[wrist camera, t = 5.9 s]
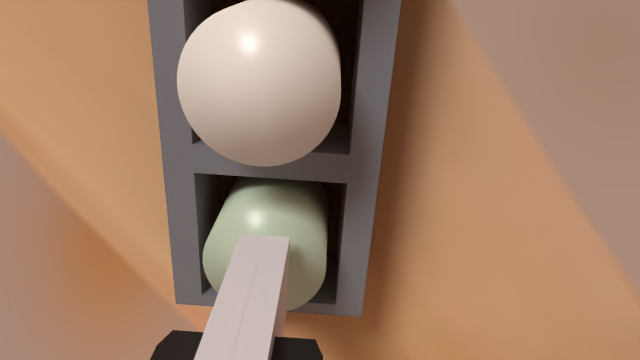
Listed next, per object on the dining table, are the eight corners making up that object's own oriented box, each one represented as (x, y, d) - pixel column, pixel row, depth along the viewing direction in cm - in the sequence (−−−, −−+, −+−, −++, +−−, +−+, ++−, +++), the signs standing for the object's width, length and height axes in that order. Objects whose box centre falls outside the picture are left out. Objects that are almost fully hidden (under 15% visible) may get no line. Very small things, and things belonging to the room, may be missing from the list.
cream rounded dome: (214, -11, 14) (170, -3, 10) (345, -2, 14) (348, 9, 10) (218, 115, 16) (182, 160, 12) (335, 123, 16) (334, 171, 12)
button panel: (162, -298, 12) (112, -373, 10) (422, -282, 12) (445, -352, 10) (197, 257, 20) (176, 303, 17) (358, 269, 20) (361, 316, 17)
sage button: (228, 156, 18) (199, 206, 14) (332, 164, 18) (330, 215, 14) (230, 244, 19) (205, 309, 16) (324, 251, 19) (322, 317, 16)
